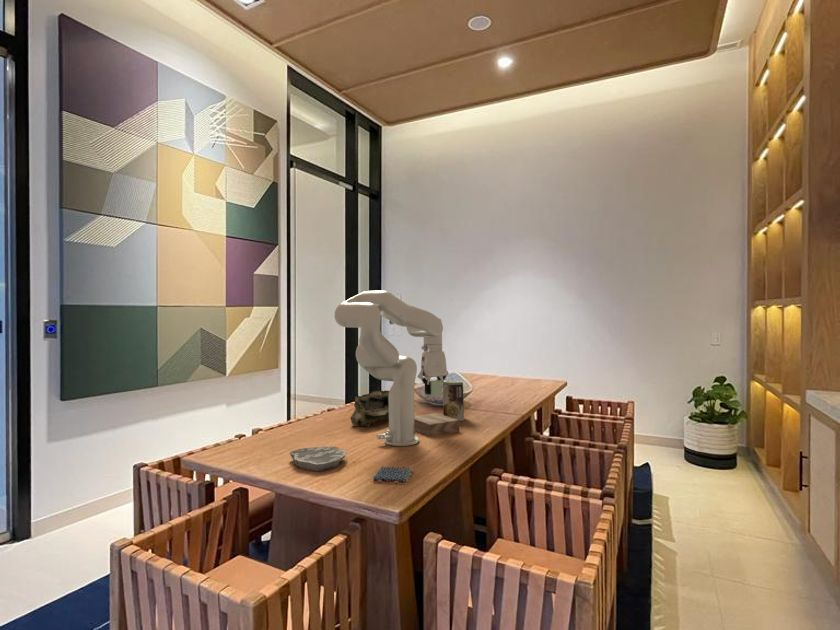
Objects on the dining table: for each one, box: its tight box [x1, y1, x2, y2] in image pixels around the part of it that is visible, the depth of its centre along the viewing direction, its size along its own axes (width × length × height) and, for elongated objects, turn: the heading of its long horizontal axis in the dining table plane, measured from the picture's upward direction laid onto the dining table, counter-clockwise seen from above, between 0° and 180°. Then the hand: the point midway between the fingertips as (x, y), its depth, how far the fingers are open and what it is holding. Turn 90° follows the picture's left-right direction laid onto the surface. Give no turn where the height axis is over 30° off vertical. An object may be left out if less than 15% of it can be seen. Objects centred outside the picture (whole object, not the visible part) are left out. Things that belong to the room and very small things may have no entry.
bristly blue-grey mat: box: [372, 465, 415, 485], centre depth 140 cm, size 10×11×2 cm
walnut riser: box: [414, 412, 460, 437], centre depth 196 cm, size 14×16×5 cm
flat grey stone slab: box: [289, 446, 348, 472], centre depth 155 cm, size 20×17×3 cm
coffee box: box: [442, 381, 465, 422], centre depth 214 cm, size 9×6×16 cm
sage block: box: [424, 378, 443, 398], centre depth 196 cm, size 5×5×6 cm
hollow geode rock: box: [350, 389, 390, 427], centre depth 213 cm, size 28×13×15 cm
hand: (433, 392), depth 196 cm, fingers closed on sage block, 5 cm apart
